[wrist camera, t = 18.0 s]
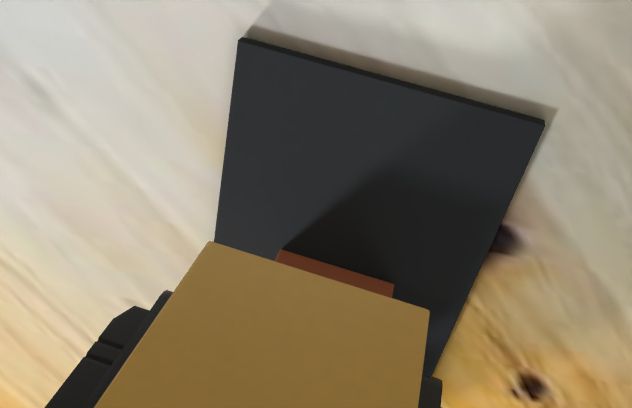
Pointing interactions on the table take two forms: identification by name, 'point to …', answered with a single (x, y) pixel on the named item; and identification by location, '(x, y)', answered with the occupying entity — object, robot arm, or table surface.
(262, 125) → the word mat
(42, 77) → the table surface
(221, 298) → the yellow cube
